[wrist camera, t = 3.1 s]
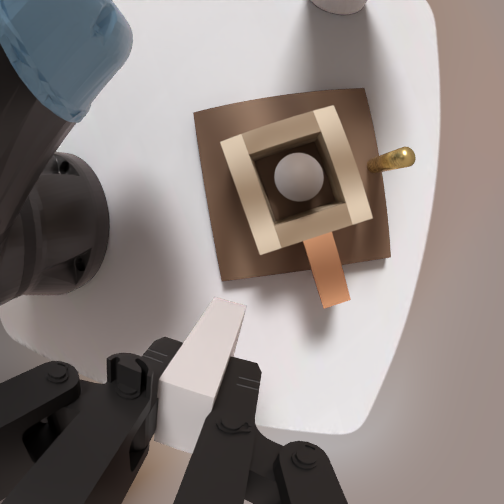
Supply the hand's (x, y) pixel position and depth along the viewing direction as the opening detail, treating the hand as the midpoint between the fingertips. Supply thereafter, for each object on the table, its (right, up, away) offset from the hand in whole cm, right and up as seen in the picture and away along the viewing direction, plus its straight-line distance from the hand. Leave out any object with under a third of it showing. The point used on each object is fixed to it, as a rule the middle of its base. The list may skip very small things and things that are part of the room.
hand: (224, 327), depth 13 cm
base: (+5, +9, +10) cm, 15 cm away
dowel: (+11, +10, +8) cm, 17 cm away
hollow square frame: (+5, +7, +9) cm, 13 cm away
